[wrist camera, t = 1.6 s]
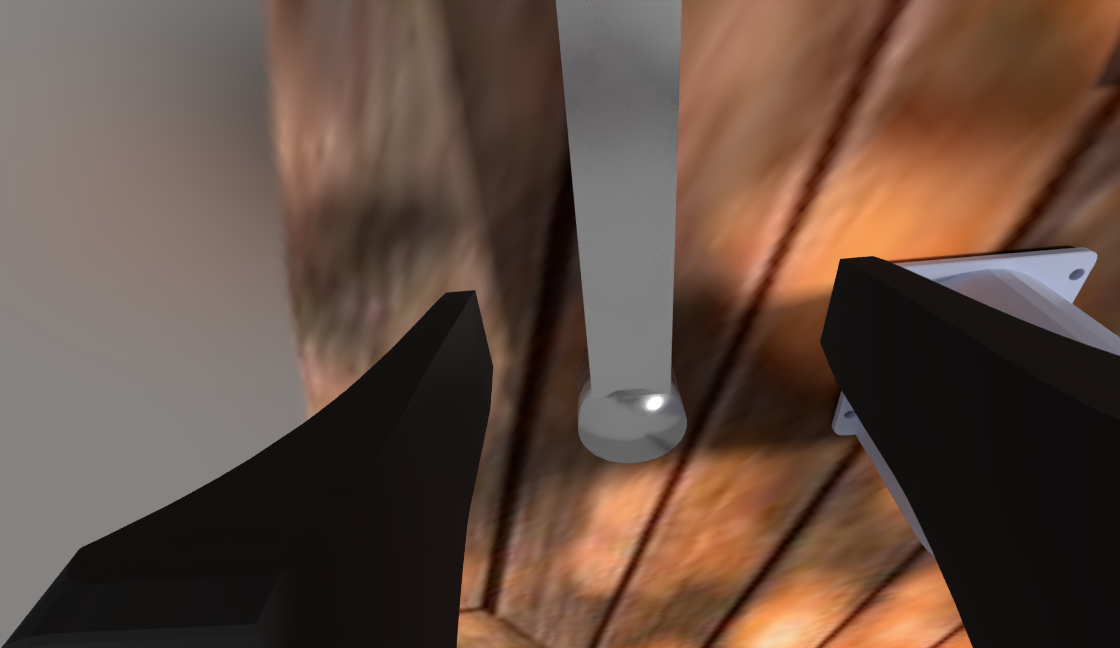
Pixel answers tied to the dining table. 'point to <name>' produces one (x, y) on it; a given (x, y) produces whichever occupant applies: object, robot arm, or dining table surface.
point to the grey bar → (625, 218)
